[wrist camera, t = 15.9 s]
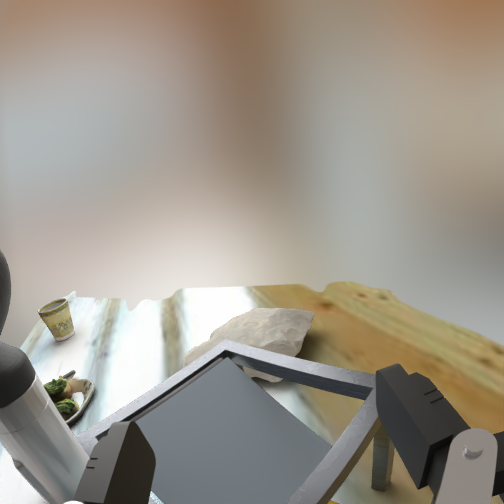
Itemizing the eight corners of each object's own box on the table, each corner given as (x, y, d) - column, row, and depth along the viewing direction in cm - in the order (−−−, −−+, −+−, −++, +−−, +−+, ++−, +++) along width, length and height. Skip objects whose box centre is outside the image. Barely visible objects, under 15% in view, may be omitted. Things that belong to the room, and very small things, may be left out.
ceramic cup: (71, 341, 77) (57, 309, 74) (45, 345, 77) (31, 314, 74) (87, 321, 90) (76, 292, 87) (63, 326, 89) (51, 298, 87)
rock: (164, 346, 55) (273, 280, 66) (181, 375, 58) (283, 309, 68) (209, 402, 39) (343, 306, 50) (229, 433, 42) (350, 340, 52)
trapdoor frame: (279, 620, 12) (227, 592, 8) (147, 522, 25) (75, 436, 21) (390, 480, 25) (399, 378, 21) (256, 433, 37) (225, 339, 34)
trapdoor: (232, 561, 16) (235, 562, 15) (105, 437, 21) (104, 434, 21) (332, 453, 25) (337, 450, 25) (222, 358, 31) (223, 353, 30)
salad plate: (52, 377, 60) (43, 360, 59) (112, 376, 58) (103, 357, 57) (8, 428, 41) (-4, 410, 40) (69, 440, 39) (55, 419, 38)
